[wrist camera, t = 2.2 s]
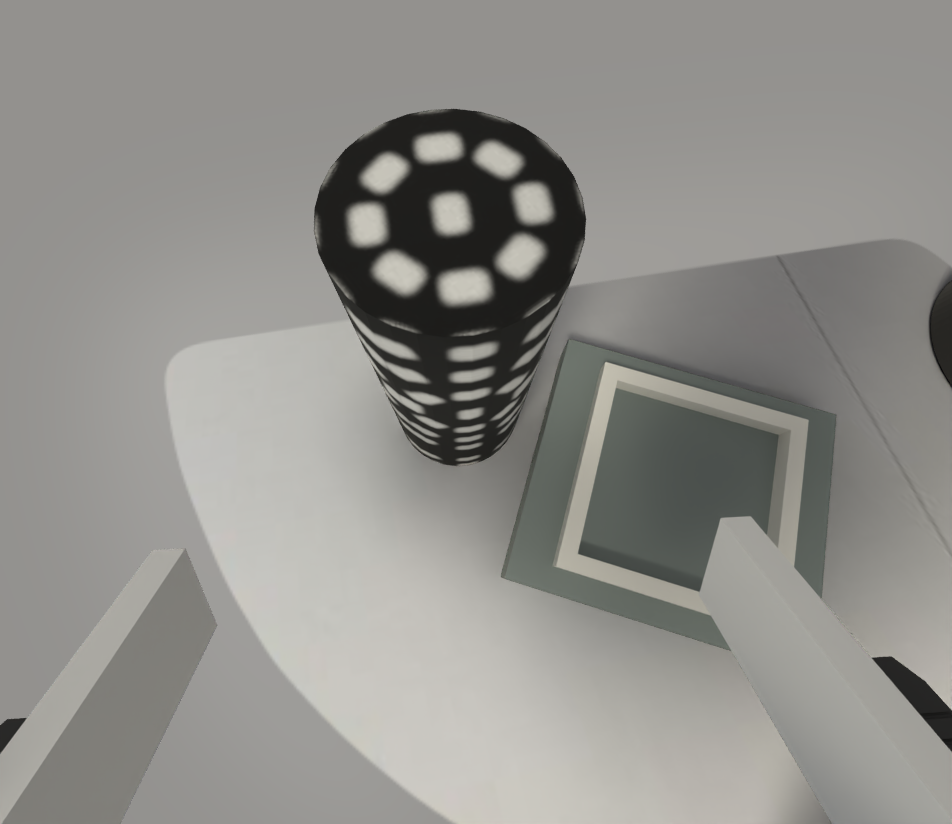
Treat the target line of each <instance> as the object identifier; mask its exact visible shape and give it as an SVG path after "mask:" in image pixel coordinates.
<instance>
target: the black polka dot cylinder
mask: <svg viewBox="0 0 952 824" xmlns="http://www.w3.org/2000/svg"><path fill="white" fill-rule="evenodd" d="M585 225H586V216H585V210H584V204H583V198H582V195H581V193H580V190H579V188H578V185H577V183H576V180H575V178H574V176H573V174H572V173H571V171H570V170H569V168H568V167H567V166H566V164H565V163H564V161H563V160H562V158H561V157H560V156H559V155H558V154H557V153H556V152H555V151H554V150H553V149H552V148H551V147H550V146H549V145H548V144H547V143H546V142H545V141H543V140H542V139H540V138H539V137H537V136H536V135H534V134H533V133H531V132H530V131H529V130H527V129H526V128H524V127H521V126H519V125H517V124H515V123H513V122H510V121H508V120H506V119H504V118H501V117H497V116H493V115H490V114H486V113H482V112H477V111H468V110H460V109H443V110H428V111H423V112H418V113H412V114H407V115H404V116H402V117H399V118H396V119H393V120H391V121H388V122H386V123H383V124H381V125H379V126H378V127H376V128H374V129H373V130H371V131H369V132H367V133H365V134H364V135H362V136H361V137H360V138H359V139H357V140H356V141H355V142H354V143H353V144H351V145H350V146H349V147H348V148H347V149H345V151H344V152H343V153H342V154H341V155H340V157H339V158H338V159H337V160H336V161H335V163H334V164H333V165H332V166H331V168H330V170H329V172H328V174H327V175H326V177H325V179H324V181H323V183H322V185H321V187H320V190H319V194H318V198H317V202H316V205H315V215H314V234H315V238H316V243H317V248H318V253H319V255H320V257H321V259H322V262H323V264H324V266H325V268H326V270H327V272H328V274H329V276H330V278H331V280H332V282H333V284H334V287H335V289H336V291H337V293H338V295H339V297H340V299H341V301H342V303H343V305H344V308H345V309H346V311H347V313H348V316H349V318H350V320H351V322H352V324H353V326H354V328H355V330H356V332H357V335H358V337H359V339H360V341H361V343H362V345H363V347H364V349H365V351H366V353H367V355H368V357H369V359H370V362H371V364H372V366H373V368H374V370H375V372H376V374H377V376H378V378H379V380H380V382H381V384H382V386H383V389H384V391H385V393H386V395H387V397H388V399H389V401H390V403H391V405H392V407H393V409H394V411H395V413H396V416H397V418H398V420H399V422H400V424H401V426H402V428H403V430H404V432H405V434H406V436H407V438H408V440H409V441H410V442H411V444H412V445H413V446H414V447H415V448H416V449H417V450H418V451H419V452H420V453H422V454H423V455H424V456H426V457H428V458H430V459H431V460H433V461H436V462H439V463H442V464H446V465H454V466H461V465H470V464H474V463H477V462H480V461H483V460H485V459H487V458H489V457H490V456H492V455H493V454H494V453H496V452H497V451H498V450H500V448H501V447H502V446H503V445H504V444H505V443H506V441H507V440H508V438H509V436H510V435H511V433H512V431H513V428H514V426H515V423H516V421H517V418H518V416H519V413H520V410H521V408H522V405H523V403H524V400H525V398H526V395H527V392H528V390H529V387H530V385H531V382H532V379H533V377H534V374H535V372H536V369H537V367H538V364H539V361H540V359H541V356H542V354H543V351H544V348H545V346H546V343H547V341H548V338H549V336H550V333H551V330H552V328H553V325H554V323H555V320H556V317H557V315H558V312H559V310H560V307H561V305H562V302H563V299H564V297H565V294H566V292H567V289H568V286H569V284H570V281H571V278H572V276H573V274H574V271H575V268H576V266H577V263H578V260H579V257H580V254H581V250H582V247H583V244H584V240H585Z"/></svg>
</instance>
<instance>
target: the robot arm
mask: <svg viewBox="0 0 952 824" xmlns="http://www.w3.org/2000/svg"><path fill="white" fill-rule="evenodd" d="M931 336H932V342H933V346H934V350H935V353H936V356H937V359H938V361H939V364H940V366H941V368H942V370H943V372H944V374H945V375H946V377H947V379H948V380H949V382H950V383H951V385H952V281H951V282H949V283H948V284H947V285H946V286H945V287H944V289H943V290H942V291H941V293H940V294H939V296H938V298H937V300H936V302H935V305H934V308H933V312H932V318H931ZM699 596H700V598H701V599H702V601H703V603H704V605H705V606H706V608H707V610H708V611H709V613H710V615H711V617H712V618H713V620H714V622H715V623H716V625H717V627H718V629H719V630H720V632H721V634H722V636H723V637H724V639H725V641H726V642H727V644H728V646H729V648H730V649H731V651H732V653H733V654H734V656H735V658H736V660H737V661H738V663H739V665H740V667H741V668H742V670H743V672H744V673H745V675H746V677H747V679H748V680H749V682H750V684H751V685H752V687H753V689H754V691H755V692H756V694H757V696H758V697H759V699H760V701H761V703H762V704H763V706H764V708H765V710H766V711H767V713H768V715H769V716H770V718H771V720H772V722H773V723H774V725H775V727H776V728H777V730H778V732H779V734H780V735H781V737H782V739H783V741H784V742H785V744H786V746H787V747H788V749H789V751H790V753H791V754H792V756H793V758H794V759H795V761H796V763H797V765H798V766H799V768H800V770H801V772H802V773H803V775H804V777H805V778H806V780H807V782H808V784H809V785H810V787H811V789H812V790H813V792H814V794H815V796H816V797H817V799H818V801H819V802H820V804H821V806H822V808H823V809H824V811H825V813H826V815H827V816H828V818H829V820H830V821H831V823H832V824H952V710H951V709H950V708H949V707H948V706H947V705H946V704H945V703H944V702H943V701H942V699H941V698H940V697H939V696H938V695H937V694H936V693H935V692H934V691H933V690H932V689H931V687H930V686H929V685H928V684H927V683H926V682H925V681H924V680H922V679H921V678H920V677H918V676H917V675H916V674H914V673H913V672H912V671H910V670H909V669H908V668H906V667H905V666H904V665H902V664H901V663H900V662H898V661H897V660H895V659H894V658H893V657H877V658H871V657H870V656H869V654H868V653H867V652H866V651H865V650H864V649H863V647H862V646H861V645H860V644H859V643H858V642H857V640H856V639H855V638H854V637H853V636H852V635H851V633H850V632H849V631H848V630H847V629H846V627H845V626H844V625H843V624H842V623H841V622H840V620H839V619H838V618H837V617H836V616H835V615H834V613H833V612H832V611H831V610H830V609H829V608H828V606H827V605H826V604H825V603H824V602H823V601H822V599H821V598H820V597H819V596H818V595H817V593H816V592H815V591H814V590H813V589H812V588H811V586H810V585H809V584H808V583H807V582H806V581H805V579H804V578H803V577H802V576H801V575H800V574H799V572H798V571H797V570H796V569H795V568H794V567H793V565H792V564H791V563H790V562H789V561H788V559H787V558H786V557H785V556H784V555H783V554H782V552H781V551H780V550H779V549H778V548H777V547H776V545H775V544H774V543H773V542H772V541H771V540H770V538H769V537H768V536H767V535H766V534H765V533H764V531H763V530H762V529H761V528H760V527H759V526H758V524H757V523H756V522H755V521H754V520H753V518H752V517H751V516H745V517H727V518H721V519H720V522H719V526H718V529H717V533H716V536H715V540H714V543H713V547H712V550H711V554H710V558H709V561H708V565H707V568H706V572H705V575H704V579H703V582H702V586H701V589H700V593H699ZM216 627H217V623H216V621H215V618H214V616H213V614H212V611H211V609H210V606H209V604H208V602H207V599H206V597H205V594H204V592H203V590H202V587H201V585H200V582H199V580H198V578H197V575H196V573H195V570H194V568H193V566H192V563H191V561H190V558H189V556H188V554H187V551H186V549H185V548H181V549H164V550H152V552H151V553H150V554H149V556H148V557H147V558H146V560H145V561H144V562H143V564H142V565H141V566H140V568H139V569H138V570H137V572H136V573H135V574H134V576H133V577H132V578H131V580H130V581H129V582H128V584H127V585H126V586H125V588H124V589H123V590H122V592H121V593H120V594H119V596H118V597H117V598H116V600H115V601H114V602H113V604H112V605H111V606H110V608H109V609H108V610H107V612H106V613H105V614H104V616H103V617H102V619H101V620H100V621H99V622H98V624H97V625H96V626H95V628H94V629H93V630H92V632H91V633H90V635H89V636H88V637H87V639H86V640H85V641H84V643H83V644H82V645H81V647H80V648H79V649H78V651H77V652H76V653H75V655H74V656H73V657H72V659H71V660H70V661H69V663H68V664H67V665H66V667H65V668H64V669H63V671H62V672H61V674H60V675H59V676H58V677H57V679H56V680H55V681H54V683H53V684H52V685H51V687H50V688H49V689H48V691H47V692H46V693H45V695H44V696H43V697H42V699H41V700H40V701H39V703H38V704H37V705H36V707H35V708H34V709H33V711H32V712H31V714H30V715H29V716H28V717H27V718H20V719H7V720H6V721H5V722H4V723H3V724H1V725H0V824H121V822H122V820H123V818H124V816H125V814H126V812H127V810H128V807H129V805H130V803H131V801H132V799H133V797H134V795H135V793H136V791H137V789H138V787H139V785H140V783H141V781H142V778H143V777H144V775H145V773H146V771H147V769H148V766H149V764H150V762H151V760H152V758H153V756H154V754H155V752H156V750H157V748H158V746H159V744H160V742H161V740H162V738H163V736H164V734H165V732H166V730H167V728H168V726H169V723H170V721H171V719H172V717H173V715H174V713H175V711H176V709H177V707H178V705H179V703H180V701H181V699H182V697H183V695H184V693H185V691H186V689H187V686H188V685H189V682H190V680H191V678H192V676H193V674H194V672H195V670H196V668H197V666H198V664H199V662H200V660H201V658H202V656H203V654H204V652H205V650H206V648H207V646H208V644H209V642H210V639H211V637H212V635H213V633H214V631H215V629H216Z"/></svg>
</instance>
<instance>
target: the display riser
mask: <svg viewBox="0 0 952 824" xmlns="http://www.w3.org/2000/svg"><path fill="white" fill-rule="evenodd" d="M835 426H836V415H835V414H832V413H828V412H825V411H821V410H818V409H814V408H811V407H807V406H804V405H800V404H797V403H793V402H790V401H786V400H782V399H779V398H775V397H772V396H768V395H765V394H761V393H758V392H754V391H751V390H747V389H744V388H740V387H737V386H733V385H730V384H726V383H723V382H719V381H716V380H712V379H709V378H705V377H701V376H698V375H694V374H691V373H687V372H684V371H680V370H677V369H673V368H670V367H666V366H663V365H659V364H656V363H652V362H649V361H645V360H642V359H638V358H635V357H631V356H627V355H624V354H620V353H617V352H613V351H610V350H606V349H603V348H599V347H596V346H592V345H589V344H585V343H582V342H578V341H575V340H571V339H569V340H568V343H567V345H566V347H565V349H564V351H563V353H562V355H561V357H560V361H559V365H558V368H557V372H556V376H555V379H554V383H553V387H552V390H551V394H550V398H549V401H548V405H547V409H546V412H545V416H544V420H543V423H542V427H541V431H540V434H539V438H538V442H537V445H536V449H535V453H534V456H533V460H532V464H531V467H530V471H529V475H528V478H527V482H526V486H525V489H524V493H523V497H522V500H521V504H520V508H519V511H518V515H517V519H516V522H515V526H514V530H513V533H512V537H511V541H510V544H509V548H508V552H507V555H506V559H505V563H504V566H503V570H502V574H501V577H502V578H504V579H507V580H510V581H513V582H517V583H520V584H523V585H526V586H529V587H532V588H535V589H538V590H542V591H545V592H548V593H551V594H554V595H557V596H560V597H564V598H567V599H570V600H573V601H576V602H579V603H582V604H585V605H589V606H592V607H595V608H598V609H601V610H604V611H607V612H611V613H614V614H617V615H620V616H623V617H626V618H629V619H632V620H636V621H639V622H642V623H645V624H648V625H651V626H654V627H657V628H661V629H664V630H667V631H670V632H673V633H676V634H679V635H683V636H686V637H689V638H692V639H695V640H698V641H701V642H704V643H708V644H711V645H714V646H717V647H720V648H723V649H726V650H730V651H731V649H730V648H729V646H728V644H727V642H726V641H725V639H724V637H723V636H722V634H721V632H720V630H719V629H718V627H717V625H716V623H715V622H714V620H713V618H712V617H711V615H710V613H709V611H708V610H707V608H706V606H705V605H704V603H703V601H702V599H701V598H700V596H699V593H700V589H701V586H702V582H703V579H704V575H705V572H706V568H707V565H708V561H709V558H710V554H711V550H712V547H713V543H714V540H715V536H716V533H717V529H718V526H719V522H720V519H721V518H727V517H745V516H751V517H752V518H753V520H754V521H755V522H756V523H757V524H758V526H759V527H760V528H761V529H762V530H763V531H764V533H765V534H766V535H767V536H768V537H769V538H770V540H771V541H772V542H773V543H774V544H775V545H776V547H777V548H778V549H779V550H780V551H781V552H782V554H783V555H784V556H785V557H786V558H787V559H788V561H789V562H790V563H791V564H792V565H793V567H794V568H795V569H796V570H797V571H798V572H799V574H800V575H801V576H802V577H803V578H804V579H805V581H806V582H807V583H808V584H809V585H810V586H811V588H812V589H813V590H814V591H815V592H816V593H817V595H818V596H819V597H820V598H821V597H822V585H823V572H824V560H825V548H826V536H827V524H828V511H829V499H830V487H831V475H832V463H833V451H834V438H835Z"/></svg>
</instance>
